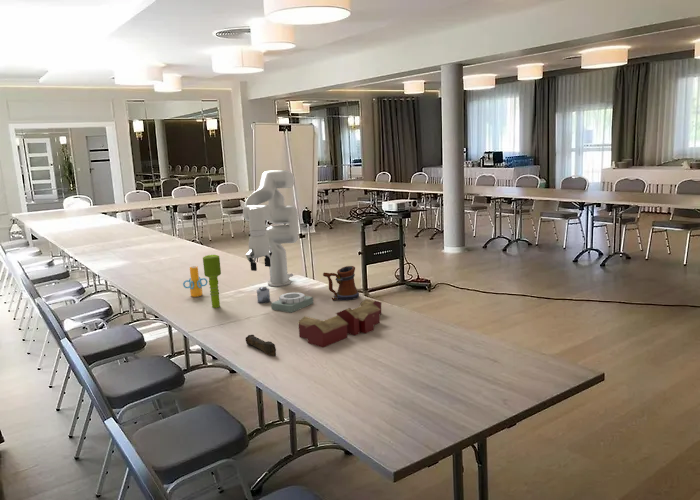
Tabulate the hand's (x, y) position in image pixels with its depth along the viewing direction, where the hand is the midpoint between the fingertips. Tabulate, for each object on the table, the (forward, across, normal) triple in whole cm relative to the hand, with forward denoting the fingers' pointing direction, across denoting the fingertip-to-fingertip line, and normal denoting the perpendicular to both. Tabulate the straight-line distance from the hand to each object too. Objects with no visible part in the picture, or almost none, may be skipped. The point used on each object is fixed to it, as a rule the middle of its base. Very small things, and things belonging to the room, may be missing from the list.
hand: (260, 268), depth 278 cm
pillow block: (+17, 0, +18) cm, 24 cm away
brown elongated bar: (+18, +48, +44) cm, 67 cm away
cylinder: (+17, +6, -41) cm, 45 cm away
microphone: (+17, +16, -16) cm, 28 cm away
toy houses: (+18, +13, +59) cm, 63 cm away
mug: (+17, -20, +32) cm, 41 cm away
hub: (+17, -1, 0) cm, 17 cm away
